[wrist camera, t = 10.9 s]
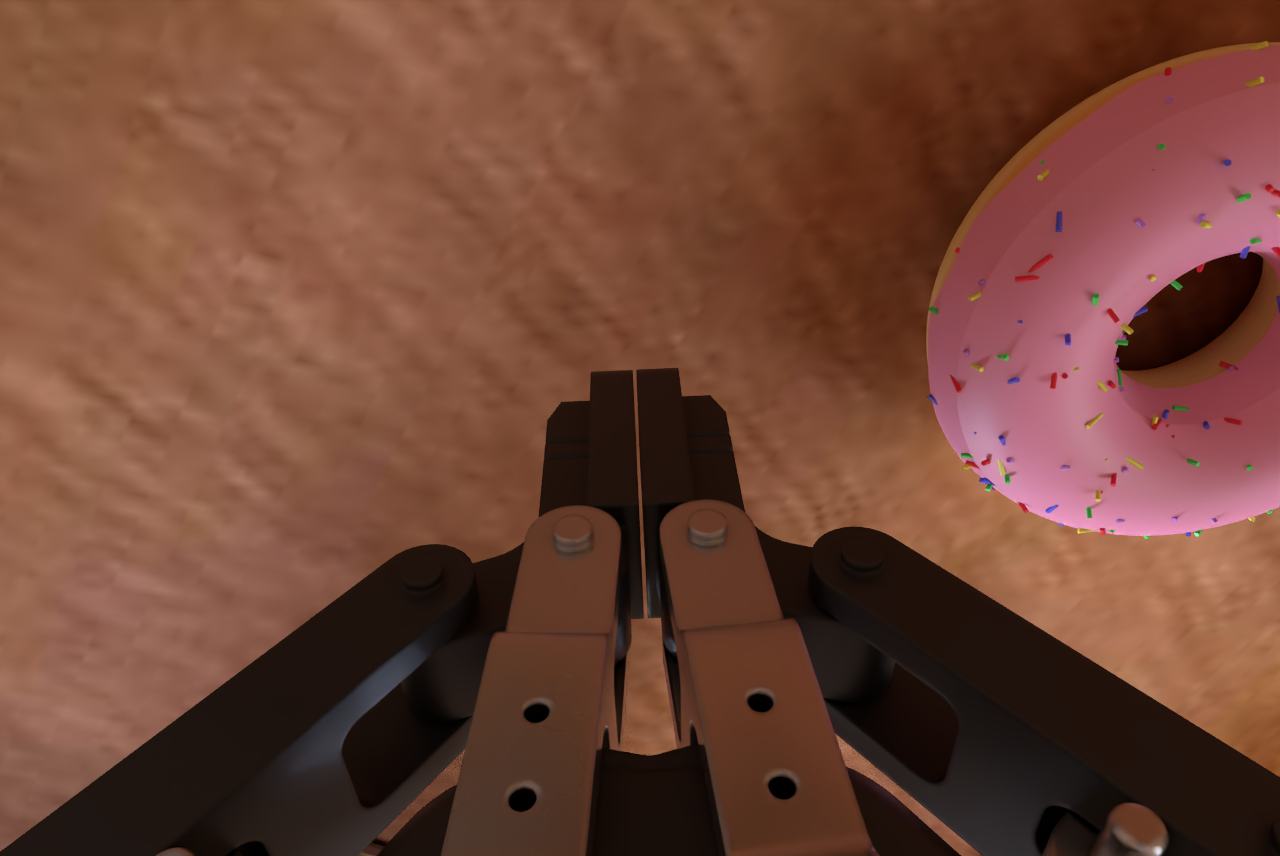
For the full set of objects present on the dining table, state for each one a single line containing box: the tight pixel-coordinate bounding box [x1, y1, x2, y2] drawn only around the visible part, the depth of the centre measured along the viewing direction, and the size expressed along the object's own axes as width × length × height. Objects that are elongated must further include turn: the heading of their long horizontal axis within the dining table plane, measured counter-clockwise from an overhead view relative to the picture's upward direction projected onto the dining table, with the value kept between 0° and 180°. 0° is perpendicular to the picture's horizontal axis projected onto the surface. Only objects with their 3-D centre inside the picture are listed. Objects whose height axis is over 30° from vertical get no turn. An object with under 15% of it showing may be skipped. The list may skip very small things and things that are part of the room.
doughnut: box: [926, 41, 1280, 539], centre depth 19 cm, size 11×11×4 cm
